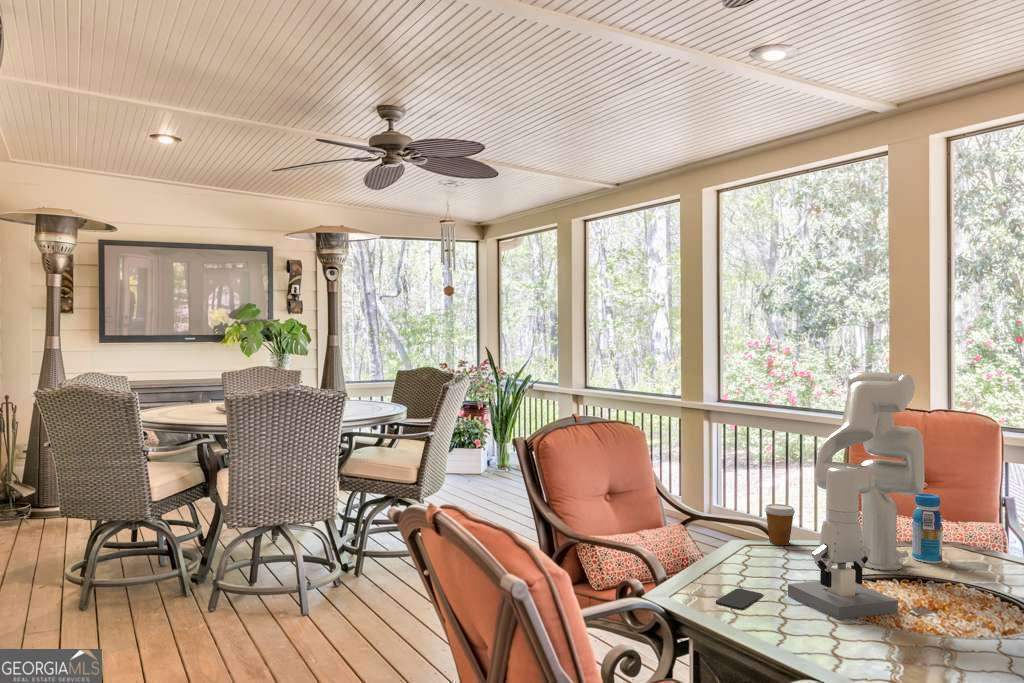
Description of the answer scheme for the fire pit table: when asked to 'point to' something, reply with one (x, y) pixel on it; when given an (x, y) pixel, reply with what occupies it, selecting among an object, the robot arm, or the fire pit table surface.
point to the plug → (842, 580)
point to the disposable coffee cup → (779, 523)
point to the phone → (739, 599)
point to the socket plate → (843, 600)
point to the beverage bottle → (927, 529)
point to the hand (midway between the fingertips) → (841, 584)
